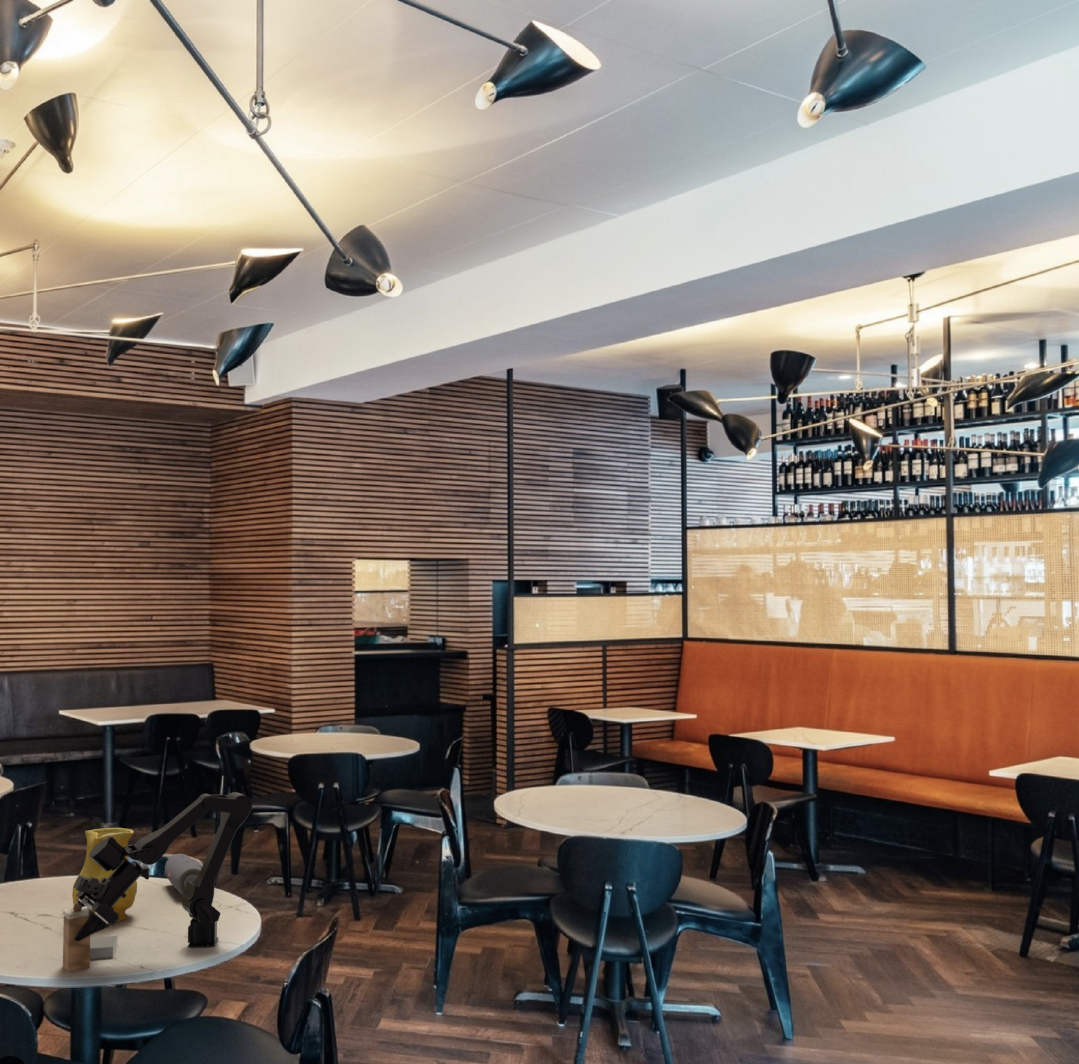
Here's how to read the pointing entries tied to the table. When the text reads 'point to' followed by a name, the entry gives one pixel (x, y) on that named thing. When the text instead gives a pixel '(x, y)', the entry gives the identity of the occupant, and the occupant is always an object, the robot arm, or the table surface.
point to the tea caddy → (73, 951)
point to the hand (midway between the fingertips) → (70, 935)
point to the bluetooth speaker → (181, 871)
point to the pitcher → (97, 872)
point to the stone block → (103, 947)
